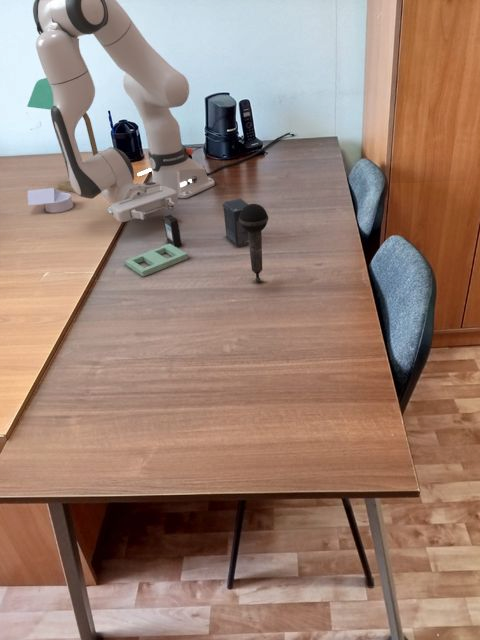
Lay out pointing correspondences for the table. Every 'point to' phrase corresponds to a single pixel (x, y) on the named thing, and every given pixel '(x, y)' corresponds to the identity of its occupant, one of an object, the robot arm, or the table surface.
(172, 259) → the holder
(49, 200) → the wedge on round base
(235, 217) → the box
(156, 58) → the robot arm
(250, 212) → the microphone
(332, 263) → the table surface
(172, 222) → the ink cartridge
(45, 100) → the banker's lamp
